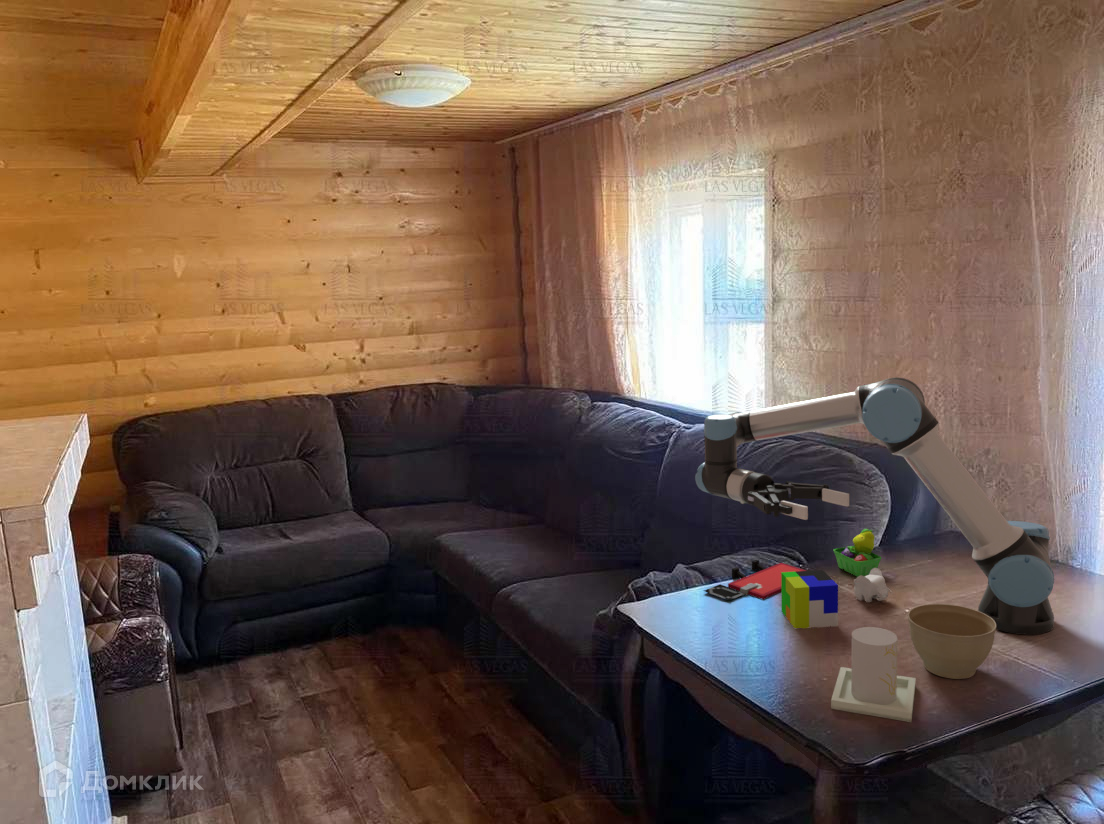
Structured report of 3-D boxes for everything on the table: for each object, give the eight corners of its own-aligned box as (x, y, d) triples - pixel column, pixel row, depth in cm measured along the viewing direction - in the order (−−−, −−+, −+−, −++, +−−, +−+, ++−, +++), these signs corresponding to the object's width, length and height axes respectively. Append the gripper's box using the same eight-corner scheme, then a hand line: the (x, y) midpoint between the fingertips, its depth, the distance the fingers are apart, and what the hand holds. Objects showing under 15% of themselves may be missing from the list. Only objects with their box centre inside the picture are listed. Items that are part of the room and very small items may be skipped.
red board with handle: (697, 592, 221) (744, 609, 209) (697, 581, 220) (744, 598, 209) (769, 563, 239) (816, 578, 228) (770, 554, 239) (816, 568, 227)
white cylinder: (891, 709, 159) (892, 648, 157) (846, 699, 163) (847, 640, 161) (900, 689, 166) (901, 631, 164) (856, 680, 170) (857, 624, 168)
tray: (915, 686, 168) (915, 678, 167) (911, 722, 155) (911, 713, 155) (840, 675, 174) (840, 667, 173) (831, 708, 161) (831, 699, 161)
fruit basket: (831, 566, 233) (831, 527, 231) (859, 561, 236) (859, 522, 234) (858, 580, 222) (858, 539, 220) (886, 575, 225) (887, 534, 223)
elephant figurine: (882, 609, 204) (882, 581, 203) (845, 599, 211) (845, 571, 210) (897, 600, 209) (898, 572, 208) (861, 590, 216) (861, 563, 215)
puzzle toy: (837, 626, 196) (838, 585, 195) (794, 629, 196) (794, 588, 194) (822, 609, 206) (822, 569, 205) (781, 611, 206) (781, 572, 204)
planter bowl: (1006, 689, 165) (1008, 637, 163) (917, 687, 168) (918, 635, 166) (980, 652, 180) (981, 603, 178) (899, 650, 183) (900, 602, 181)
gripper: (787, 493, 205) (864, 511, 188) (713, 514, 191) (788, 536, 174) (787, 462, 204) (864, 478, 186) (712, 482, 190) (788, 501, 173)
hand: (827, 506), depth 180 cm, fingers open, 13 cm apart
